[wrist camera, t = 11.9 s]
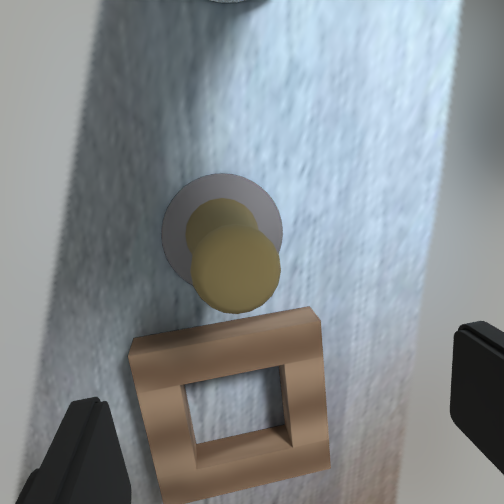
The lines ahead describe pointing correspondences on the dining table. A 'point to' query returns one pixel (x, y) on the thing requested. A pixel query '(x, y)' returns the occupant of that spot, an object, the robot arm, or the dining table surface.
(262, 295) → the cork
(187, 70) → the dining table surface
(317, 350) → the square frame
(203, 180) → the coaster
